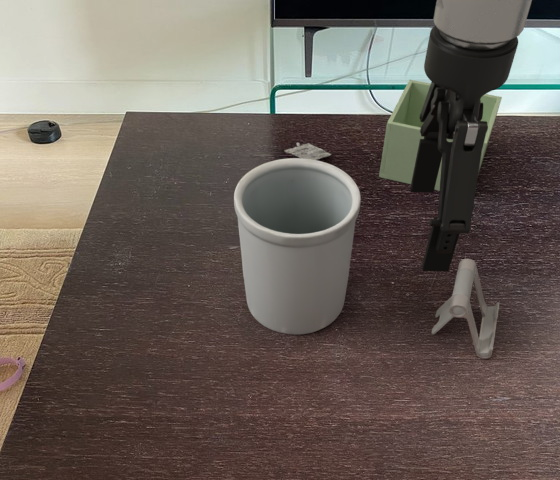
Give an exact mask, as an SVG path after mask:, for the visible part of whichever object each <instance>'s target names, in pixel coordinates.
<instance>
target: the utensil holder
mask: <svg viewBox="0 0 560 480" xmlns="http://www.w3.org/2000/svg"><path fill="white" fill-rule="evenodd" d="M361 200H362V199H361V192H360V189H359V186H358V185H357V184H356V181H355V180H354V179H353V178H352V177H351V176H350V175H349V174H348V173H347V172H345V171H344V170H343V169H340V168H339V167H338V166H335V165H333V164H331V163H328V162H324V161H321V160H318V159H317V160H314V159H313V160H312V159H303V157H302V158H299V157H292V158H291V157H290V158H280V159H275V160H272V161H268V162H264V163H263V164H260V165H258V166H256V167H254V168H251V170H249V171H248V172H246V173H245V174H244V175H243V176H242V177H241V179H240V180H239V181H238V182H237V185H236V187H235V189H234V193H233V205H234V212H235V214H236V217H237V226H238V235H239V246H240V255H241V265H242V274H243V275H242V276H243V283H244V291H245V299H246V304H247V308H248V310H249V312H250V314H251V316H252V317H253V318H254V319H255V320H256V321H257V322H258V323H259V324H260V325H262V326H263V327H265V328H267V329H269V330H271V331H273V332H277V333H280V334H284V335H296V336H297V335H306V334H312V333H315V332H317V331H320V330H322V329H324V328H326V327H328V326H330V325H331V324H332V323H333V322H334V321H335V320H336V319H337V318H338V317H339V315H340V314H341V312H342V310H343V308H344V305H345V299H346V293H347V288H348V281H349V274H350V267H351V259H352V251H353V245H354V238H355V237H354V236H355V229H356V221H357V218H358V216H359V213H360V210H361V202H362V201H361Z"/></svg>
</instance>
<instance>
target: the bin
mask: <svg viewBox="0 0 560 480" xmlns="http://www.w3.org/2000/svg"><path fill="white" fill-rule="evenodd" d="M430 85H431V82H426V81H425V82H424V81H421V80H413V79H409V80H408V82H407V83H406V86H405V87H404V89H403V91H402V94H401V95H400V97H399V99H398V101H397V103H396V105H395V107H394V109H393V110H392V113H391V115H390V116H389V119H388V120H387V122H386V126H385V127H386V128H385V134H384V141H383V148H382V153H381V160H380V161H381V162H380V167H379V173H378V178H382V179H385V180H390V181H395V182H399V183H403V184H408V185H411V182H412V177H413V172H414V167H415V162H416V157H417V152H418V147H419V142H420V139H424V136H421V133H420V129H421V126H422V125H423V123H424V122H420V119H419V117H420V114H421V111H422V108H423V105H424V102H425V99H426V96H427V93H428V91H429V88H430ZM502 98H503V97H502V96H500V95H493V94H488V93H486V94H485V95H483V96H482V97H481V99H480V100H481V102H480V103H483V117H482V119H481V121H487V126H488V130H487V132H486V136H485V140H484V144H483V148H482V153H481V159H480V166H479V173H478V175H479V174H480V171H481V167H482V164H483V162H484V159H485V155H486V152H487V149H488V147H489V146H488V145H489V142H490V139H491V137H492V136H491V135H492V132H493V129H494V126H495V121H496V119H497V117H498V116H497V115H498V112H499V109H500V105H501V102H502ZM447 141H448V142H453V139H447ZM441 165H442V159H441V163H440V168H439V172H438V176H437V180H436V184H435V189H434V191H438V192H440V179H441Z"/></svg>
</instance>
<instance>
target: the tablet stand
mask: <svg viewBox="0 0 560 480" xmlns="http://www.w3.org/2000/svg"><path fill="white" fill-rule="evenodd" d="M473 286H474V289H475V293H476V297H477V302H478V305H479V310H480V314H481V318H482V319H481V323H480V330H479V333H478V329H477V325H476V321H475V318H474V313H473V309H472V305H471V302H470V301H471V295H472V290H473ZM500 303H501V302H496V303H495V305H490V306H489V305H487V303H486V302H485V297H484V293H483V289H482V284H481V280H480V275H479V270H478V267H477V264H476V261H474V260H473V259H471V258H464V259H460V261H459V262H458V267H457V272H456V276H455V280H454V286H453V291H452V295H451V297H449V298H448V299H447V300H446V301H445V302H444V303H443V304H442V305H441V306H440V307H438V308H437V309H436V312H435V316H434V318H435V319H438V321H437V323H436V324H435V325H433V327H432V329H431V335H435V334H437V332H439V331H440V330H441V329H442V328H443V327H444V326H445V325H447V324H448V323H449V322H450V321H452V319H453V318H457V319H466V321H467V323H468V328H469V332H470V335H471V339H472V343H473V346H474V351H475V354H476V357H478V358H479V359H482V360H486V359H490V358H491V357H492V355H493V350H494V344H495V343H494V342H495V337H496V329H497V322H498V318H499V317H498V316H499V310H500Z"/></svg>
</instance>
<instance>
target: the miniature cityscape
mask: <svg viewBox="0 0 560 480" xmlns="http://www.w3.org/2000/svg"><path fill="white" fill-rule="evenodd" d="M295 144H296V146H295V147H293V148H288V149H287V148H286V149H284V152H285V153H289V154H291V155H293V156H295V157H297V158H303V159H312V160H317V161H318V160H320V159H324V158H327V157H329V156H331V155H332V153H329V152H327V151H326V150H324V149H323V148H319V147H318V146H315V145H313V144H311V143H309V142H307V143H304V144H302V145H301V144H300V142H296V143H295Z"/></svg>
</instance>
